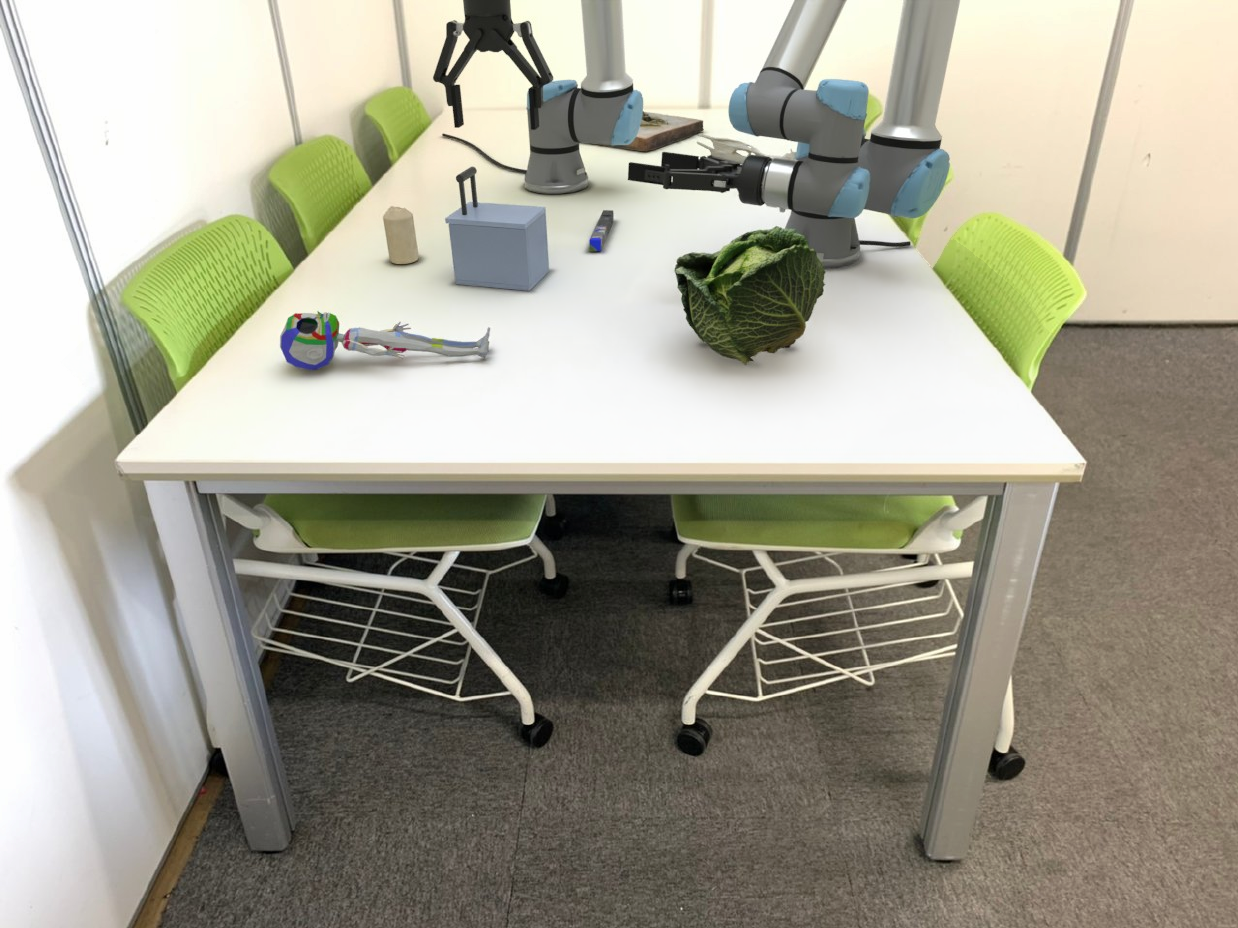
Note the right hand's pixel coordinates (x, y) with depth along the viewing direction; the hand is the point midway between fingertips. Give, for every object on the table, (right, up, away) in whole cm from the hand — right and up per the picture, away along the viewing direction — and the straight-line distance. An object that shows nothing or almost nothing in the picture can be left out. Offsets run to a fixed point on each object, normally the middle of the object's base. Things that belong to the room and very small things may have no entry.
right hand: (646, 165), depth 150 cm
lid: (-26, -7, +8) cm, 28 cm away
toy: (-39, -35, -15) cm, 54 cm away
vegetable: (+15, -33, -14) cm, 39 cm away
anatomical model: (+27, +21, +72) cm, 79 cm away
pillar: (-8, -4, +33) cm, 34 cm away
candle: (-46, -11, +22) cm, 52 cm away
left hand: (-26, +8, +4) cm, 27 cm away
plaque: (0, +45, +109) cm, 118 cm away
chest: (-26, -16, +14) cm, 33 cm away
